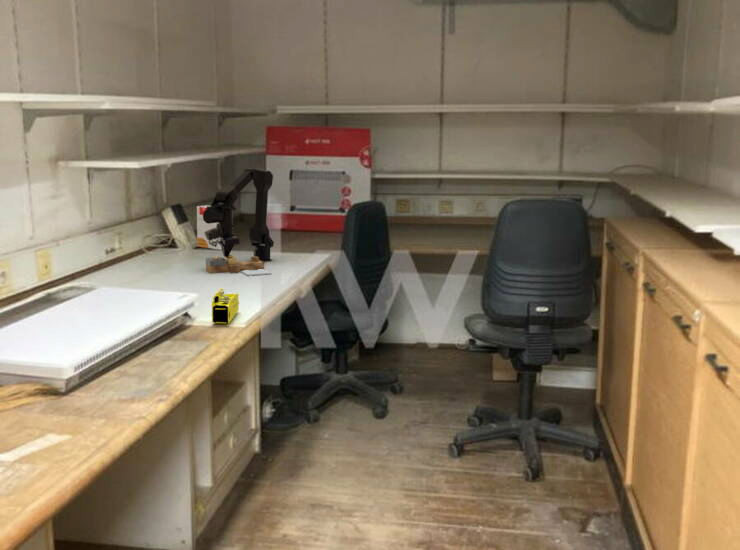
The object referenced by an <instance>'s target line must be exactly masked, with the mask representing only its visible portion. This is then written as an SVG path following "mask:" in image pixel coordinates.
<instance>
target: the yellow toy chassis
mask: <svg viewBox="0 0 740 550" xmlns="http://www.w3.org/2000/svg"><path fill="white" fill-rule="evenodd" d="M239 305H240V301H239V293H238V291H237V292H236V293H225V290H224V289H223V287H221V288H220V289H219V290H218V291H217V292H216V293H215V294H214V295H213V296H212V301H211V323H212V324H213V323H214V324H216V325H226V324H228V325H229V324H230V323H231V321H232V320H233V319H235V317H236V316H237V313H238V312H239Z"/></svg>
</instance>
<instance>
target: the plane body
mask: <svg viewBox="0 0 740 550" xmlns="http://www.w3.org/2000/svg"><path fill="white" fill-rule="evenodd" d="M258 269H264V270H265V261H260V260H259V257H257V256H255V257H254V256H251V260H242V261H239V260H238V261H237V264H229V265H228V264H227V263H226V265H220V266H209V265H208V264H206V263H205V271H206V272H207V273H209V274H218V273H221V272H222V273H229V274H240V273H241V271H244V270H258ZM239 272H240V273H239ZM222 273H221V274H222Z"/></svg>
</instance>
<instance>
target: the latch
mask: <svg viewBox="0 0 740 550" xmlns="http://www.w3.org/2000/svg"><path fill="white" fill-rule="evenodd" d="M224 259H226V263H227V264H228V265H229V264H237V262H238V258H237V257H235V256H234V255H233V254H229V256H225V258H224Z"/></svg>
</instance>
